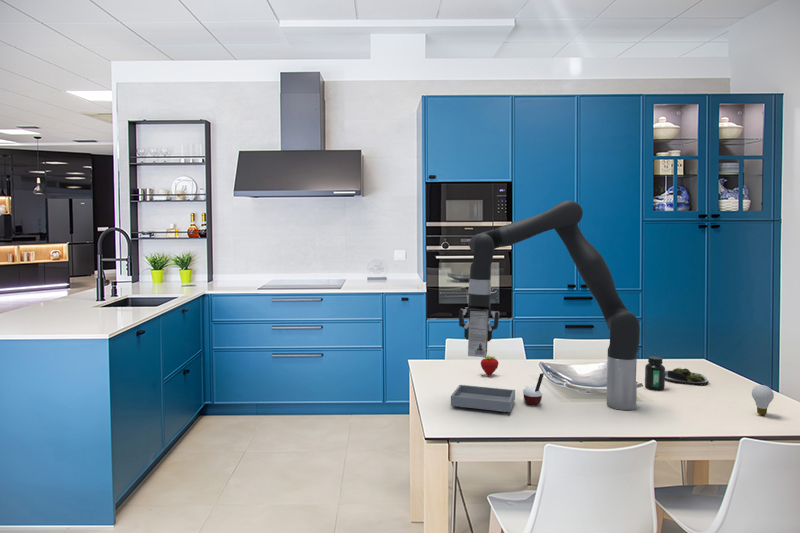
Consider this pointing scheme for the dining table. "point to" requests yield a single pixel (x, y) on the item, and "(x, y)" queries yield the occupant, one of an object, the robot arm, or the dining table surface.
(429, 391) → the dining table surface
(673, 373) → the salad plate
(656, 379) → the supplement bottle
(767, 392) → the light bulb
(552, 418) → the dining table surface
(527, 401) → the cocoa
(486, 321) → the coffee box
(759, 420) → the dining table surface
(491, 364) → the strawberry
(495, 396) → the tray
